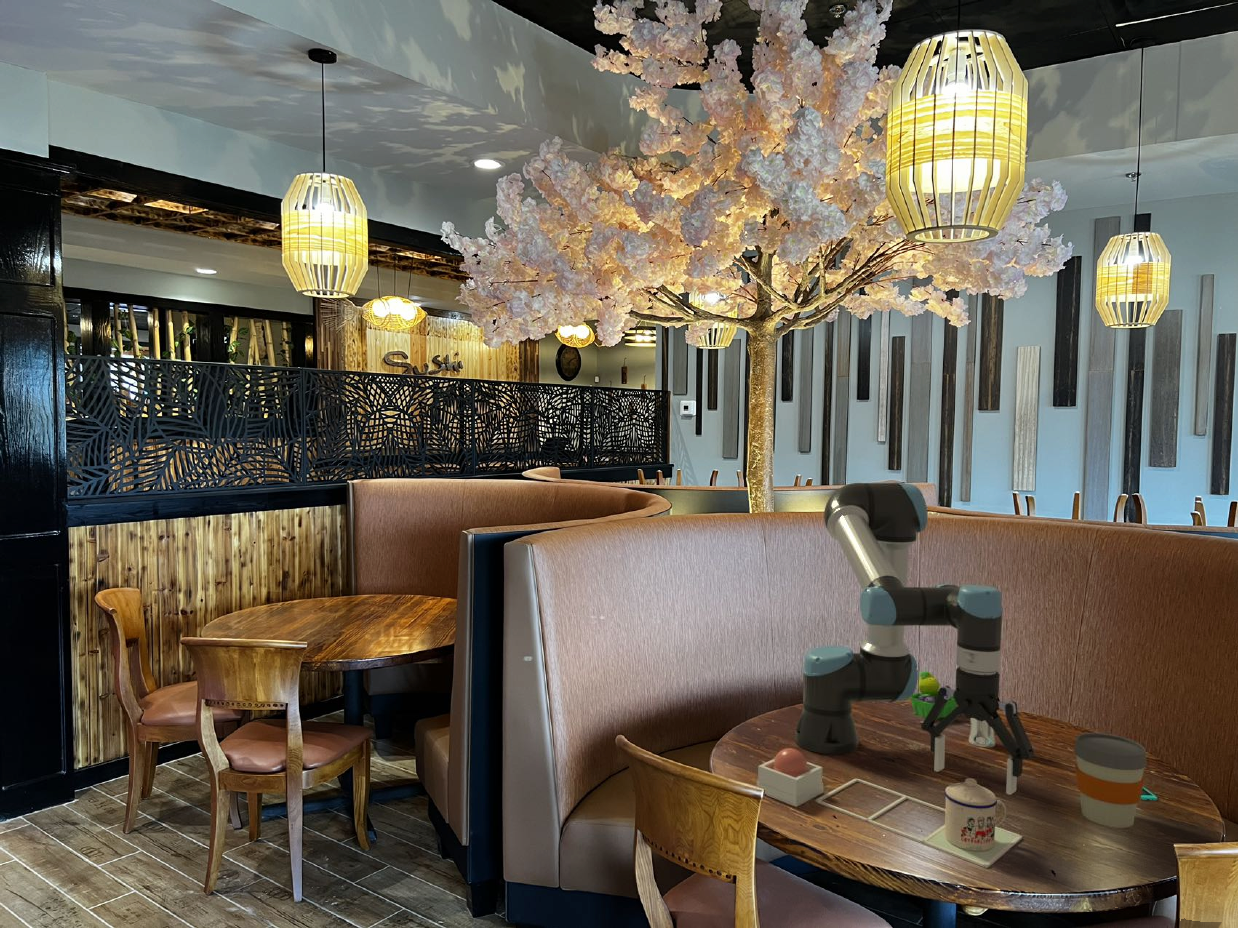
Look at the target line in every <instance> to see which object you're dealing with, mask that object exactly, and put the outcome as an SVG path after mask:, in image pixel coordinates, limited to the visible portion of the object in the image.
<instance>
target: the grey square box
mask: <svg viewBox="0 0 1238 928" xmlns="http://www.w3.org/2000/svg"><path fill="white" fill-rule="evenodd" d="M774 759H775V758H772V759H771V760H769V761H766V762H763V763H762V764H760V765H758V767H757V768H758V769H757V770H758V771H757V781H756V788H757V787H759V788H763V789H764V790H765V794H766V796H767V797H770V798H773V799H775V800H778V801H779V802H782V803H785V804H788V805H789V806H792V807H795V808H798V806H801V805H803V804H805V803H807V802H808V801H810V800H812V799H815V798H816V797H817V796H820V795H821V794H823V793H824V782H823V766H820V765H817V764H814V763H811V762H808V761H806V762H807V772H806V773H804V774H802V775H800V776H798V777H796V778H795V777H792V776H789V775H787V774H784V773H781V772H779V771H776V770H774ZM765 794H764V795H765Z"/></svg>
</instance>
